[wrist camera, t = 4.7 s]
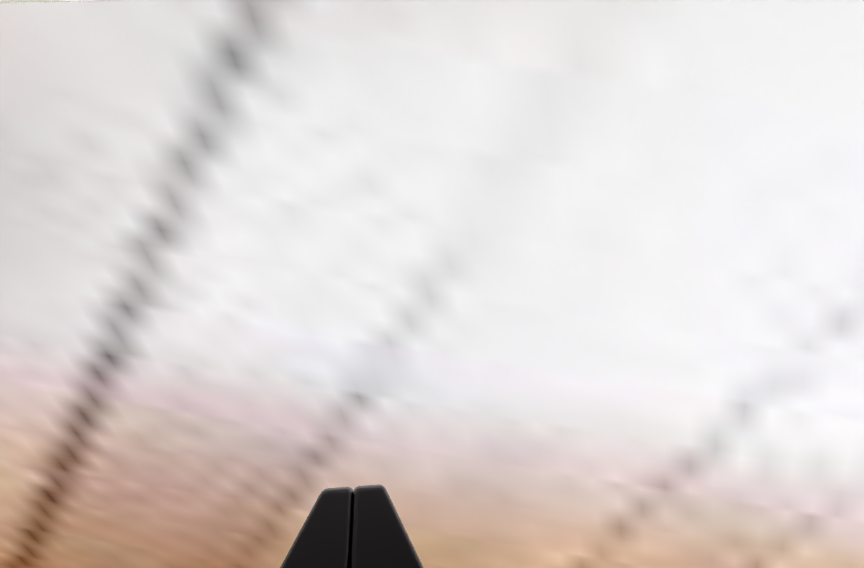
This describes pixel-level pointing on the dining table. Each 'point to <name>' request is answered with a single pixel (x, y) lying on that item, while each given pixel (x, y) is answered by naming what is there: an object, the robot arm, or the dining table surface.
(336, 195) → the dining table surface
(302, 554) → the robot arm
